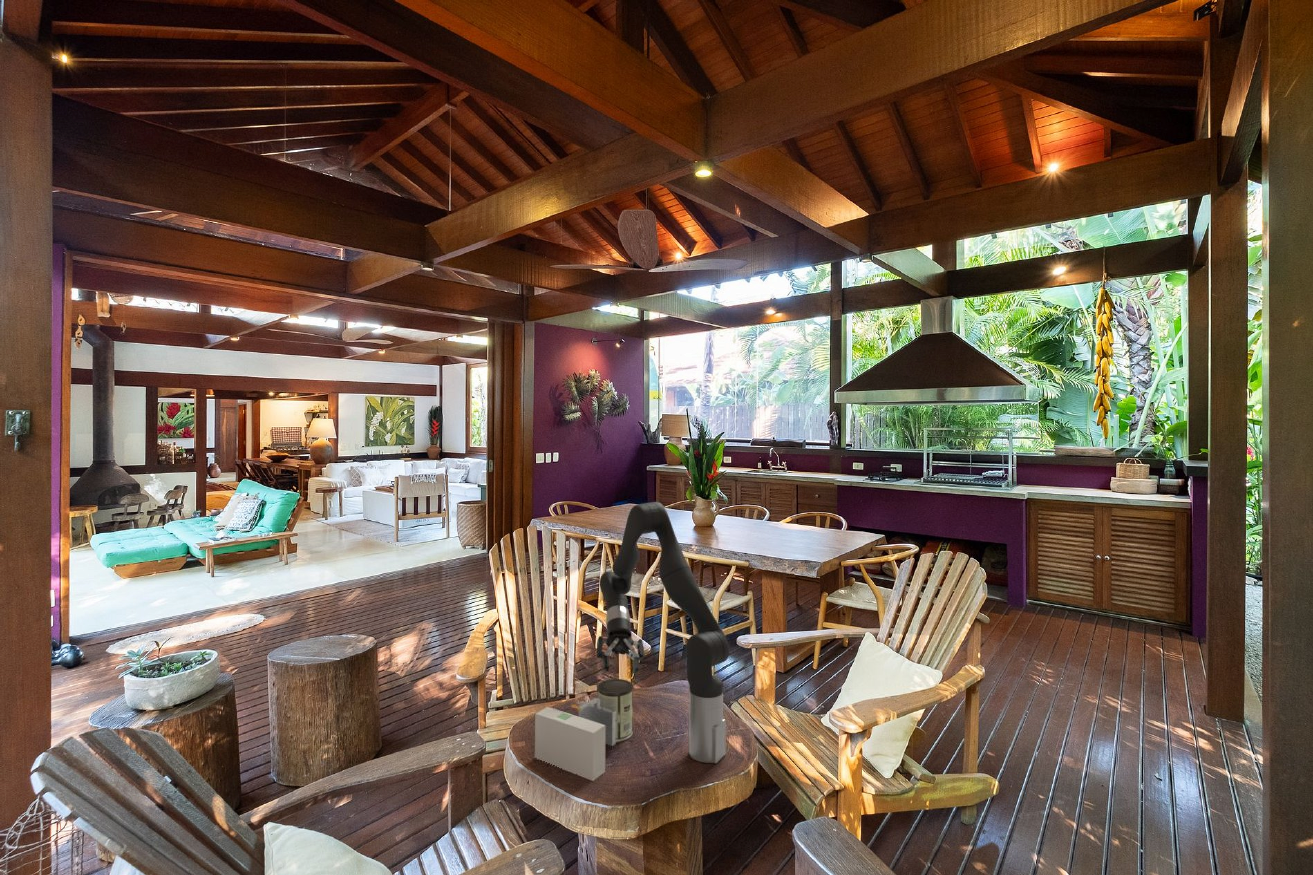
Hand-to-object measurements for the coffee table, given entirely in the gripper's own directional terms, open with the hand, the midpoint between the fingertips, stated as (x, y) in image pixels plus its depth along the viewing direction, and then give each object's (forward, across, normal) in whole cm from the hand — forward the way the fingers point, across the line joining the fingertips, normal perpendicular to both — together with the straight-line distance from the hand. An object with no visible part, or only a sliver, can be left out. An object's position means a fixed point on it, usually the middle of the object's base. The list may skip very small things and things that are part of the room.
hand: (621, 670), depth 171 cm
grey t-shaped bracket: (+16, -8, +11) cm, 21 cm away
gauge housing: (+22, -14, +10) cm, 28 cm away
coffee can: (+10, +1, +17) cm, 20 cm away
